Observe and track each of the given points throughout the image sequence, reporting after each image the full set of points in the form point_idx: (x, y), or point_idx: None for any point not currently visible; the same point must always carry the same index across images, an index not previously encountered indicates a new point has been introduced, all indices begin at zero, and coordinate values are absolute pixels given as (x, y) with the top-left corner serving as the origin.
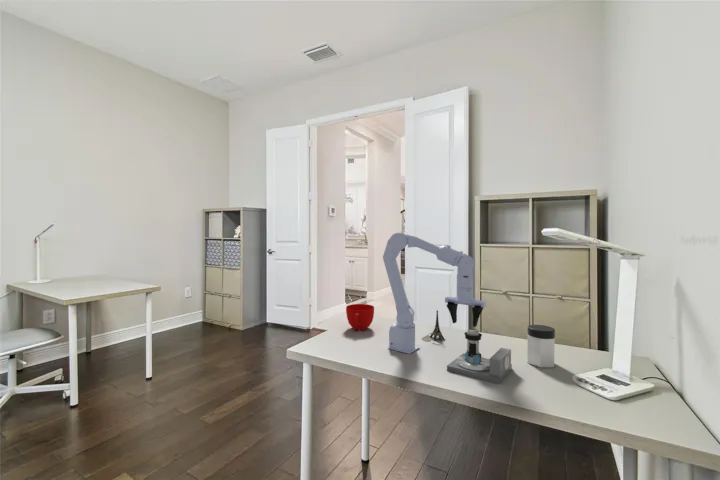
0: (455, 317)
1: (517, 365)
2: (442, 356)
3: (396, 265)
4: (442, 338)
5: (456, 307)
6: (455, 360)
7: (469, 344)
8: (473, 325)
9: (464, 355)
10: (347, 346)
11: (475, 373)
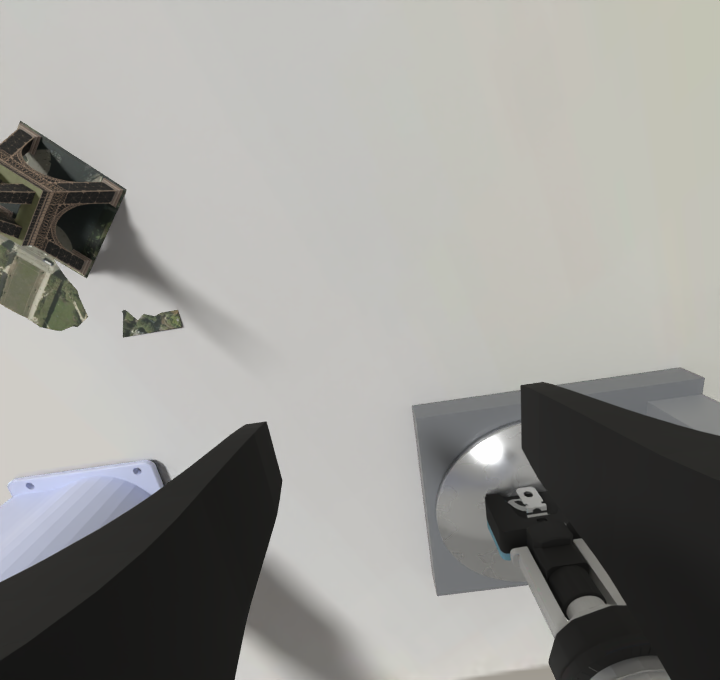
0: (251, 496)
1: (703, 296)
2: (320, 466)
3: None
4: (94, 199)
5: (133, 624)
6: (436, 529)
7: (548, 591)
8: (535, 462)
9: (437, 443)
10: None
11: None
